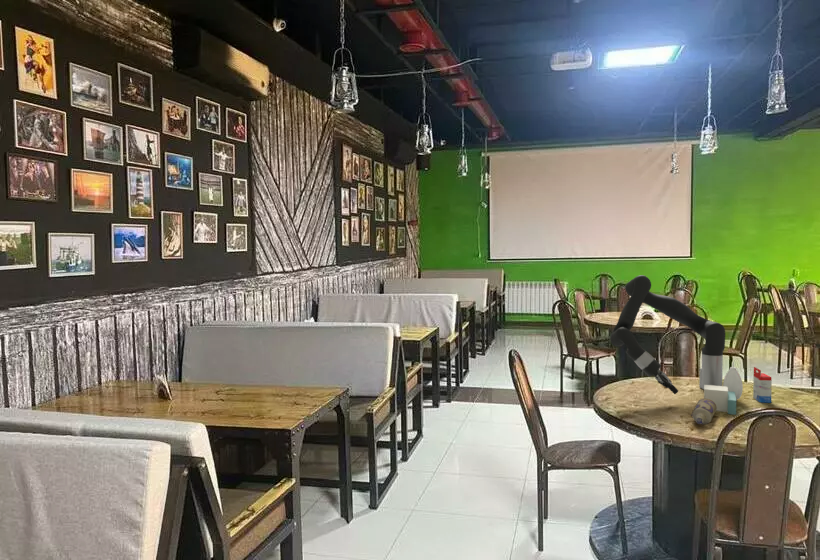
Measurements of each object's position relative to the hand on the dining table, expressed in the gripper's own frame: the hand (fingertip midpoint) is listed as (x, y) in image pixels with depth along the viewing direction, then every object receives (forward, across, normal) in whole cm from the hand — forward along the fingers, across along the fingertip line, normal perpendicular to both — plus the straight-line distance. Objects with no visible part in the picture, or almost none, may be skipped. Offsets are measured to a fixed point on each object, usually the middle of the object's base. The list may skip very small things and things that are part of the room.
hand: (676, 392), depth 261 cm
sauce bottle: (+20, -16, +12) cm, 28 cm away
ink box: (+28, -22, +20) cm, 41 cm away
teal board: (+19, 0, +12) cm, 22 cm away
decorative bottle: (+11, +22, +3) cm, 25 cm away
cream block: (+15, 0, +7) cm, 16 cm away
